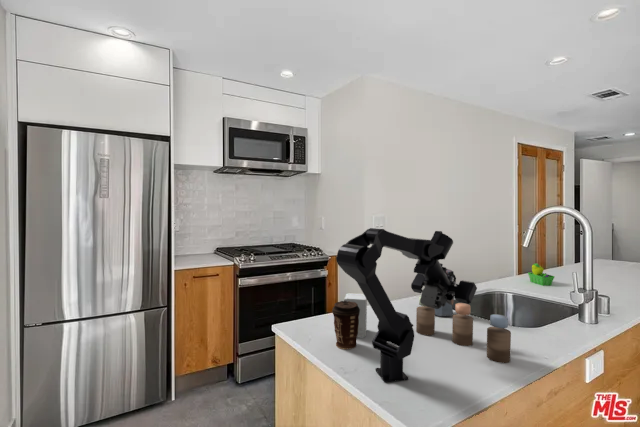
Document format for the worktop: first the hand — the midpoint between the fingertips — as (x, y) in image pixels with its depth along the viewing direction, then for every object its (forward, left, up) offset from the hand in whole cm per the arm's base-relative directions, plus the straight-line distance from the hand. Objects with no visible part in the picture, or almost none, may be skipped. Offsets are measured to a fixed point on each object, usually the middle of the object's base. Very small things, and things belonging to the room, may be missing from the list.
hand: (451, 303), depth 105 cm
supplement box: (+16, +26, -13) cm, 33 cm away
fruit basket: (+61, -95, -13) cm, 114 cm away
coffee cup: (+7, +32, -13) cm, 35 cm away
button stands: (+1, -4, -13) cm, 14 cm away
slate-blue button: (-11, -8, -4) cm, 14 cm away
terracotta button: (+1, -5, -4) cm, 6 cm away
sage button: (+11, +2, -4) cm, 12 cm away
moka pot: (+27, -14, -13) cm, 33 cm away
